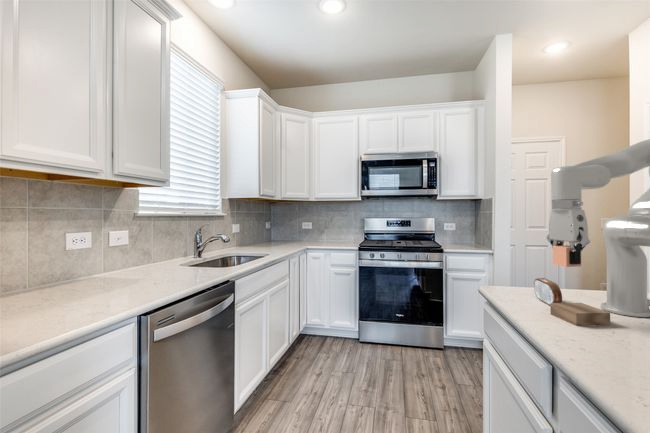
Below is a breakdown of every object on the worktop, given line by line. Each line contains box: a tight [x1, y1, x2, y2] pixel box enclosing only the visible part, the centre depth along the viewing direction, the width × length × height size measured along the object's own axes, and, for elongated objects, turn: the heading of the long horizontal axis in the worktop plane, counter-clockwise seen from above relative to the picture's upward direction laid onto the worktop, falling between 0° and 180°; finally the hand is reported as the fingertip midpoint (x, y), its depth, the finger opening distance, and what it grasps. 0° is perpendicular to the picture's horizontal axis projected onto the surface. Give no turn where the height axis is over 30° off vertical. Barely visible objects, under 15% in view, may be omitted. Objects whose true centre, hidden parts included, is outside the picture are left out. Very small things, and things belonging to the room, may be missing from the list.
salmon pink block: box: [552, 244, 582, 268], centre depth 97 cm, size 5×5×6 cm
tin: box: [533, 277, 563, 307], centre depth 111 cm, size 15×3×8 cm, turn 168°
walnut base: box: [550, 302, 611, 327], centre depth 94 cm, size 10×10×4 cm
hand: (567, 262), depth 97 cm, fingers closed on salmon pink block, 4 cm apart
